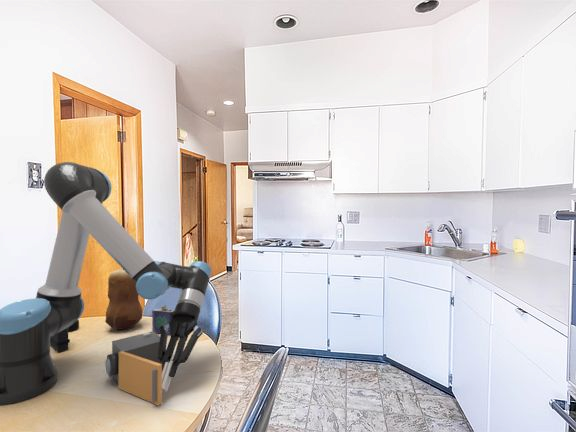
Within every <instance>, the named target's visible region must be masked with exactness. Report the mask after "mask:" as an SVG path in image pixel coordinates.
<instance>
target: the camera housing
mask: <svg viewBox="0 0 576 432" xmlns="http://www.w3.org/2000/svg"><path fill="white" fill-rule="evenodd" d="M159 342H160V335H159V334H156V333H155V332H153V331H152V330H151V331H147V332H142V333H140V334H136V335H132V336H127V337H123V338H119V339H116V340H112V341H111V343H112V344H111V353H110V354H107V355H106V359H105V362H104V365H105V366H104V367H105V371H106V374H107V375H108V377H110V378H111V377H113V378H114V379H115V381H116V382H117V383H118V384H119V352H121V351H124V352H127V353H130V354H133V355H136V356H139V357H142V358H145V359H148V360H151V361H154V362H157V363H160V364H162V362H161V361H160V360H159V359H158V358H157V356H158V349H159Z"/></svg>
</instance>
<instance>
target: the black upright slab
mask: <svg viewBox="0 0 576 432" xmlns="http://www.w3.org/2000/svg"><path fill="white" fill-rule="evenodd" d="M69 344H71V339H70V338H69V331H68V328H66V329H64V330H62V331H61V332H59V333H57V334H56V335H54V336H52V337H51V338H50V347H52V348H53V349H54V350H55V351H56V352H57V353H62V352H66V351H68V350H69Z"/></svg>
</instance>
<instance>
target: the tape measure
mask: <svg viewBox="0 0 576 432" xmlns="http://www.w3.org/2000/svg"><path fill="white" fill-rule="evenodd" d="M79 320H80V319H78V320H77V321H76V322H75V323H74V324H73V325H71V326H69V327H68V332H72V331H74V330H77V329H78V328H79V327H80V321H79Z"/></svg>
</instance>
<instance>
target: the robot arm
mask: <svg viewBox="0 0 576 432" xmlns="http://www.w3.org/2000/svg"><path fill="white" fill-rule="evenodd" d="M43 182H44V183H43V184H44V189H45V191H46V193H47V194H48V196H49V197H50V199H51V200H52V201H53V203H55V204H56V205H57V207H58V208H59V209H61V211H62V212H61V216H60V219H59V220H60V221H59V225H58V228H57V233H56V238H55V242H54V247H53V250H52V254H51V258H50V262H49V263H50V264H49V267H48V271H47V276H46V280H45V283H44V284H43V285H42V286H40V287H39V288H37V292H36V296H35V298H29V299H22V300H20V301H15V302H12V303H9V304H7V305H5V306H3V307H1V308H0V405H9V404H15V403H20V402H22V401H27V400H29V399H32V398H34V397H37V396H39V395H42V394H43V393H45V392H47V391H48V390H50V389H51V388H53V386H55V385H56V383H57V382H58V369H57V367H56V365H55V362H54V360H53V358H52V357H51V356H52V355H51V345H50V338H51V337H52V336H54V335H56V334H57V333H59V332H61V331H62V330H64V329H66V328H68V327H69V326H71V325H73V324H74V323H75V322H76V321H77V320H80V318H81V316H82V315H83V313H84V310H85V302H84V299H82V293H83V290H82V289H81V288H80V287H79V282H80V277H81V274H82V268H83V266H84V265H83V264H84V260H85V256H86V251H87V247H88V242H89V240H90V236H91V237H92V238H93V239H94V241H96V242H97V243H98V244H99V246H101V248H103V250H104V251H105V252H106V253H108V255H109V256H110V257H111V258H112V259H113V260H114V261H115V263H117V264H118V265H119V267H120V268H121V270H124V271H125V272H126V273H127V274H128V275H129V276H130V277H131V278H132V279H133V280H134V281H135V283H136V290H137V293H138V294H139V297H141V298H142V299H144V300H155V299H157V298H159V297H160V296H162V295H164V294H165V293H166V292H167V290H169V289H170V288H174V289H177V290H181V291H180V293H179V296H178V299H177V304H176V305H175V309H174V313H173V318H172V320H171V321H170V322H169V324H168V325H166V326H163V325H162V326H160V332H161V335H159V336H160V342H159V349H158V356H157V358H158V359H159V360H160V361H161V362H162V392H168V389H169V387H170V383H171V380H172V378H175V377H176V373H177V371H178V368H179V366H180V365H181V364H186V363H187V361H188V359H189V358H190V355H191V353H192V352H193V349H194V347H195V346H196V343H197V342H198V339H200V337H201V336H202V335H203V334H204V331H203V329H202V328H201V327H200V326H198V320H199V317H200V312H201V309H202V305H203V302H204V299H205V296H206V292H207V289H208V286H209V282H210V278H211V275H212V268H211V266H210V264H208V263H206V262H205V261H200V260H198V261H193V262H192V263H191V264H190V265H189V266H187V265H185V266H184V265H180V264H175V263H170V262H166V261H159V260H154V259H153V258H152V257H151V255H149V254H148V252H146V250H145V249H144V248H143V247H142V246H141V245H140V244H139V243H138V241H136V239H135V238H134V237H133V236H132V235H131V234H130V233H129V232H128V231H127V230H126V228H124V227H123V226H122V225H121V223H120V222H119V221H118V220H117V219H116V218H115V216H113V215H112V214H111V212H110V211H109V210H108V209H107V208H106V207H105V206H104V204H103V203H104V202H105V201H107V199H108V198H109V197H110V196H111V193H112V183H111V180H110V179H109V177H108V176H107V175H106V173H104V172H102V171H101V170H99V169H97V168H94V167H92V166H91V167H90V166H87V165H82V164H79V163H76V162H72V161H71V162H68V161H62V162H59V163H57V164H54V165H53V166H51V167H50V168H49V169H48V170H47V172H46V173H45V176H44V180H43ZM169 329H170V330H171V332H172V333H171V336H170V338H169V337H168V336H169V335H168V334H167V333H169ZM189 336H190V337H189ZM188 337H189V338H188ZM168 338H169V340H168ZM188 339H189V340H188ZM172 357H173V358H172Z"/></svg>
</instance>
